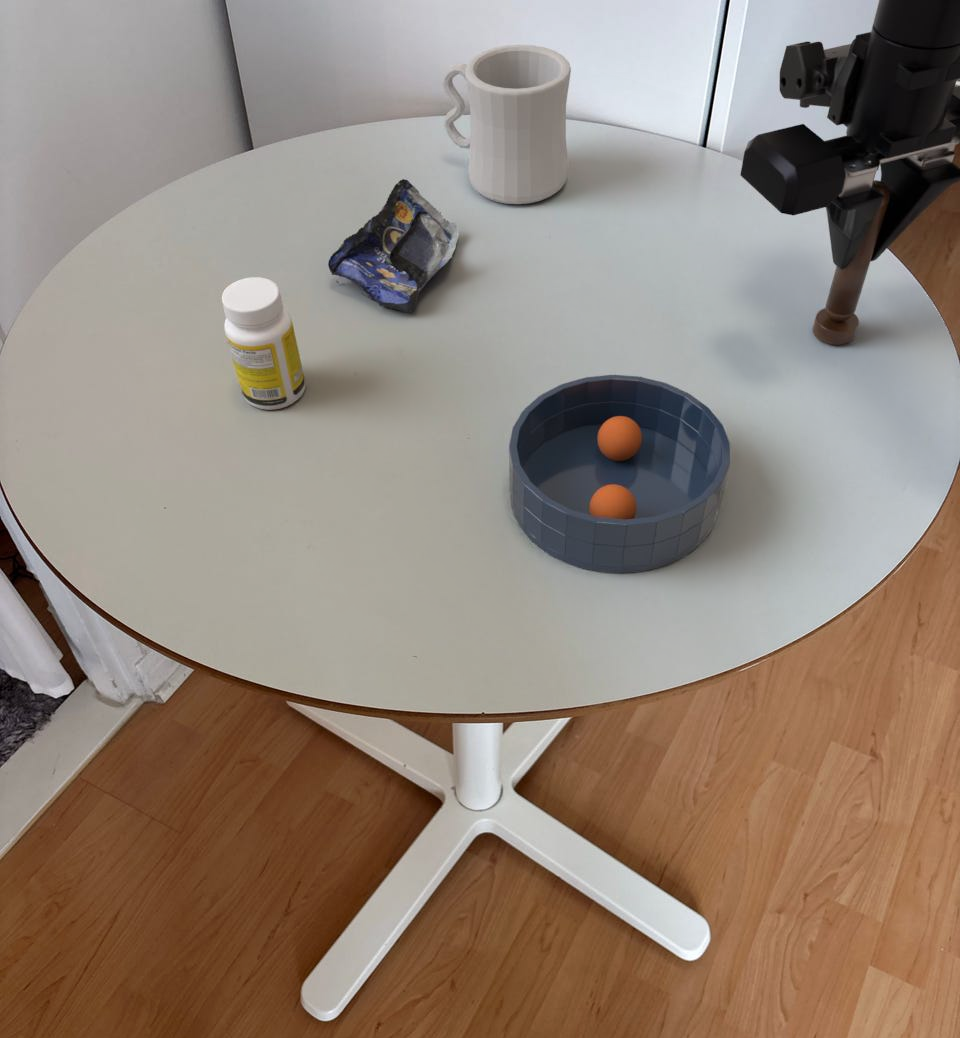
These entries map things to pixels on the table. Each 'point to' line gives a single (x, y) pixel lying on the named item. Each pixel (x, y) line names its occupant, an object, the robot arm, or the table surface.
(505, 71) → the mug
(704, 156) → the table surface
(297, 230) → the table surface
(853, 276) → the wooden pestle
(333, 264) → the snack package
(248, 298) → the supplement bottle
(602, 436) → the ball
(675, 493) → the bowl
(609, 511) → the ball
